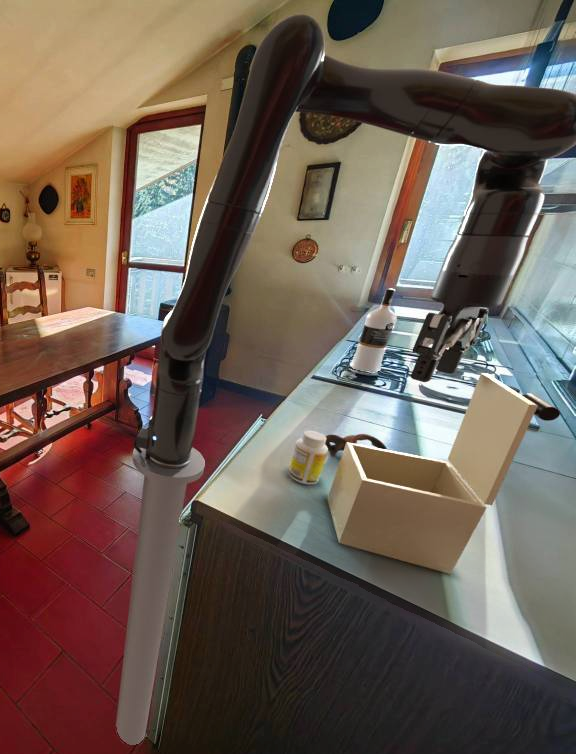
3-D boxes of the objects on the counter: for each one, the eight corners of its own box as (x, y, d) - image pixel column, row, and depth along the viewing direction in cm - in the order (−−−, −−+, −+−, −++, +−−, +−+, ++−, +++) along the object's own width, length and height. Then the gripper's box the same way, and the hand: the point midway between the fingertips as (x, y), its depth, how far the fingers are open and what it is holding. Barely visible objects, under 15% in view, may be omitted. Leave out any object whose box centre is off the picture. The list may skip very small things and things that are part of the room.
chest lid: (529, 404, 49) (589, 411, 47) (480, 372, 60) (527, 376, 57) (484, 504, 55) (536, 514, 52) (447, 458, 65) (488, 465, 63)
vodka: (365, 367, 147) (392, 286, 135) (385, 376, 138) (416, 291, 127) (342, 367, 146) (367, 286, 135) (360, 376, 138) (389, 291, 126)
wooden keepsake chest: (338, 543, 65) (362, 479, 60) (327, 498, 76) (346, 441, 71) (450, 574, 59) (486, 507, 55) (421, 521, 70) (449, 461, 65)
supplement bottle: (318, 475, 83) (331, 433, 79) (317, 489, 78) (331, 445, 74) (288, 467, 85) (300, 426, 81) (286, 479, 81) (298, 437, 77)
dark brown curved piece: (366, 456, 91) (392, 438, 84) (367, 490, 85) (395, 475, 79) (313, 435, 93) (334, 417, 87) (310, 467, 88) (333, 451, 81)
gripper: (464, 265, 61) (425, 362, 67) (420, 268, 55) (381, 375, 61) (533, 271, 55) (483, 377, 61) (492, 274, 49) (441, 392, 55)
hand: (432, 376), depth 61 cm, fingers open, 8 cm apart
